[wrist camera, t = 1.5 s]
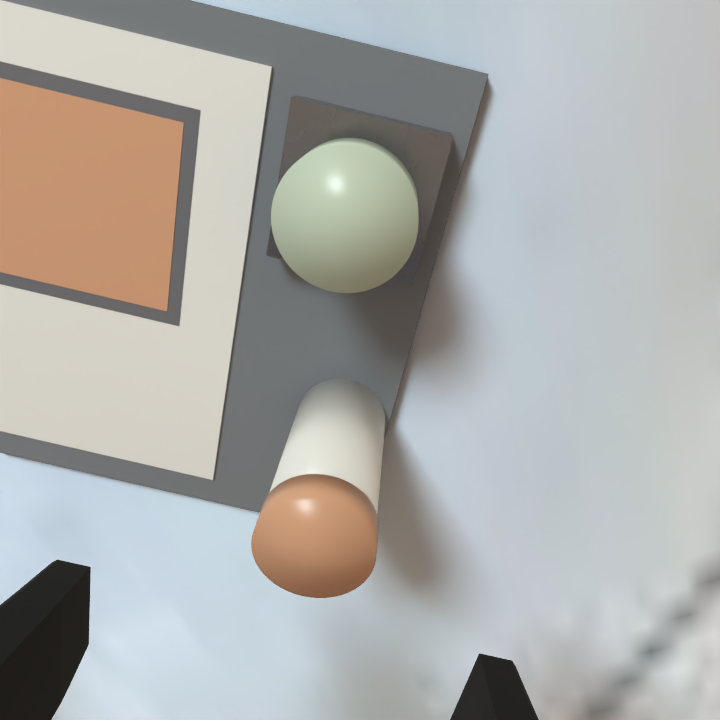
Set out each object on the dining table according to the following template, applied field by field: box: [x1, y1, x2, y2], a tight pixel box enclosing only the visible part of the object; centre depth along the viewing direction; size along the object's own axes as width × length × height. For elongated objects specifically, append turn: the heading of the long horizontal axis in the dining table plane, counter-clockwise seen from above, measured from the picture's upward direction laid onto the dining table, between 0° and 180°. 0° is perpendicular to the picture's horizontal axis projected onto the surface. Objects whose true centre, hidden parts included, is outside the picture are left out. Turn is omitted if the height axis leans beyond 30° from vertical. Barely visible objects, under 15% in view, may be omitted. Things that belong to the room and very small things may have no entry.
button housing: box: [266, 95, 453, 290], centre depth 16 cm, size 4×4×1 cm
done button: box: [271, 138, 419, 293], centre depth 15 cm, size 3×3×3 cm
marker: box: [251, 379, 385, 598], centre depth 17 cm, size 3×3×6 cm
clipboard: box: [0, 0, 488, 512], centre depth 18 cm, size 15×13×1 cm
